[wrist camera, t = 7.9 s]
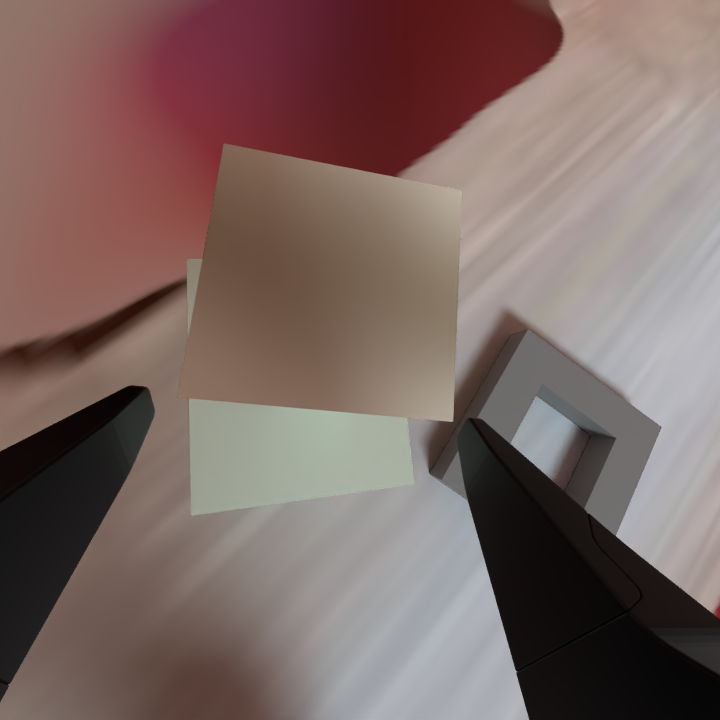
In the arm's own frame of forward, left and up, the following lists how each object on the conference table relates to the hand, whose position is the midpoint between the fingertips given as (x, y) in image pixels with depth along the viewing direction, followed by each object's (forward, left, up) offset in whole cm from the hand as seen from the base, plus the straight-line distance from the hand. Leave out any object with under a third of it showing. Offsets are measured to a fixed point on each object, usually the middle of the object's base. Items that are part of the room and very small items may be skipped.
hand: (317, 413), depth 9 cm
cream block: (+2, 0, -9) cm, 9 cm away
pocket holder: (-4, -16, -12) cm, 20 cm away
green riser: (+2, +1, -12) cm, 12 cm away
